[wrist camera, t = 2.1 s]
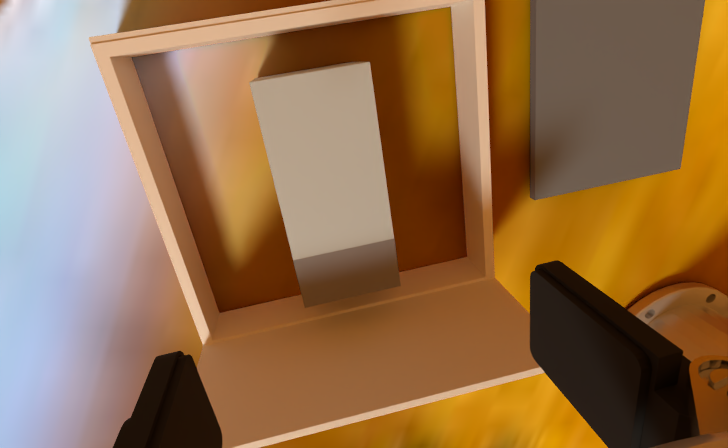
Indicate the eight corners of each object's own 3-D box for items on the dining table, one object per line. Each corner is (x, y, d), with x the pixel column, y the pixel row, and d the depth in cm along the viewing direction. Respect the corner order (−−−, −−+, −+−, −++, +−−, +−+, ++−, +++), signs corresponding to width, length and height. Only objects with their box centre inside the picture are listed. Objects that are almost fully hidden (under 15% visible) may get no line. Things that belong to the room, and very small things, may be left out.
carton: (460, -14, 23) (595, -70, 13) (475, 262, 30) (572, 365, 20) (113, 40, 21) (-42, 22, 11) (213, 322, 28) (172, 470, 18)
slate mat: (713, -126, 23) (724, -131, 23) (672, 166, 30) (680, 168, 29) (530, -102, 22) (537, -106, 22) (530, 197, 29) (534, 200, 28)
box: (353, 61, 24) (369, 61, 19) (381, 249, 28) (400, 286, 24) (256, 78, 23) (249, 82, 19) (301, 266, 28) (304, 307, 23)
